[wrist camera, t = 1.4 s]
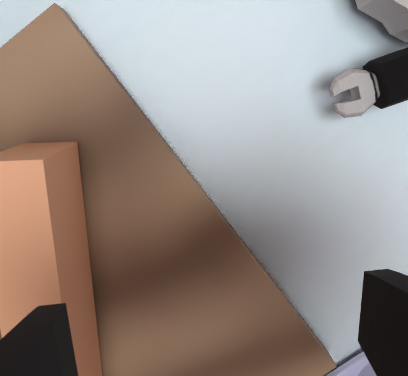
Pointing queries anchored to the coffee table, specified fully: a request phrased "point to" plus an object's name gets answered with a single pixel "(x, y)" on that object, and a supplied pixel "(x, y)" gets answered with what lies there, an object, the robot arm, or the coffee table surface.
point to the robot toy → (377, 65)
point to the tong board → (148, 225)
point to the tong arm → (46, 243)
